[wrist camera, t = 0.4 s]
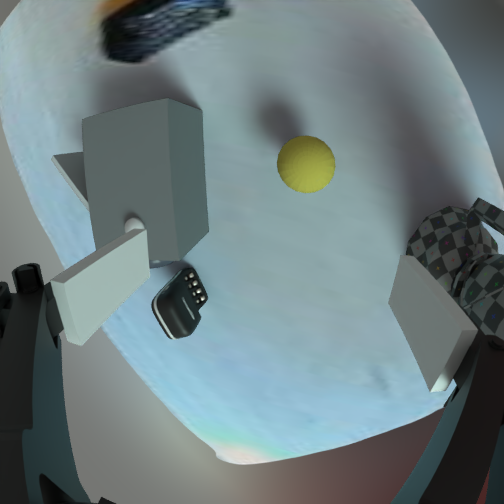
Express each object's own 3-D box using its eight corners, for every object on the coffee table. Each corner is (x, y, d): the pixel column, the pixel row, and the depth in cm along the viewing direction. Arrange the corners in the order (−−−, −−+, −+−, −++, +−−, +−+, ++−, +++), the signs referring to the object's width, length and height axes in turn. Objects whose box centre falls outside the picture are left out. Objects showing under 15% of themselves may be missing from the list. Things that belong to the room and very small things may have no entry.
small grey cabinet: (130, 122, 38) (78, 118, 26) (202, 110, 37) (164, 96, 25) (141, 243, 45) (97, 274, 33) (209, 244, 43) (179, 280, 31)
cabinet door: (87, 157, 40) (49, 162, 31) (92, 150, 39) (53, 155, 31) (128, 206, 42) (92, 221, 33) (133, 200, 41) (97, 214, 33)
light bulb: (318, 193, 39) (325, 206, 29) (272, 175, 39) (266, 183, 29) (335, 149, 36) (348, 148, 27) (289, 131, 36) (287, 124, 27)
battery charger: (215, 299, 47) (193, 341, 36) (195, 305, 48) (171, 345, 37) (197, 262, 45) (168, 297, 34) (177, 269, 46) (146, 303, 35)
